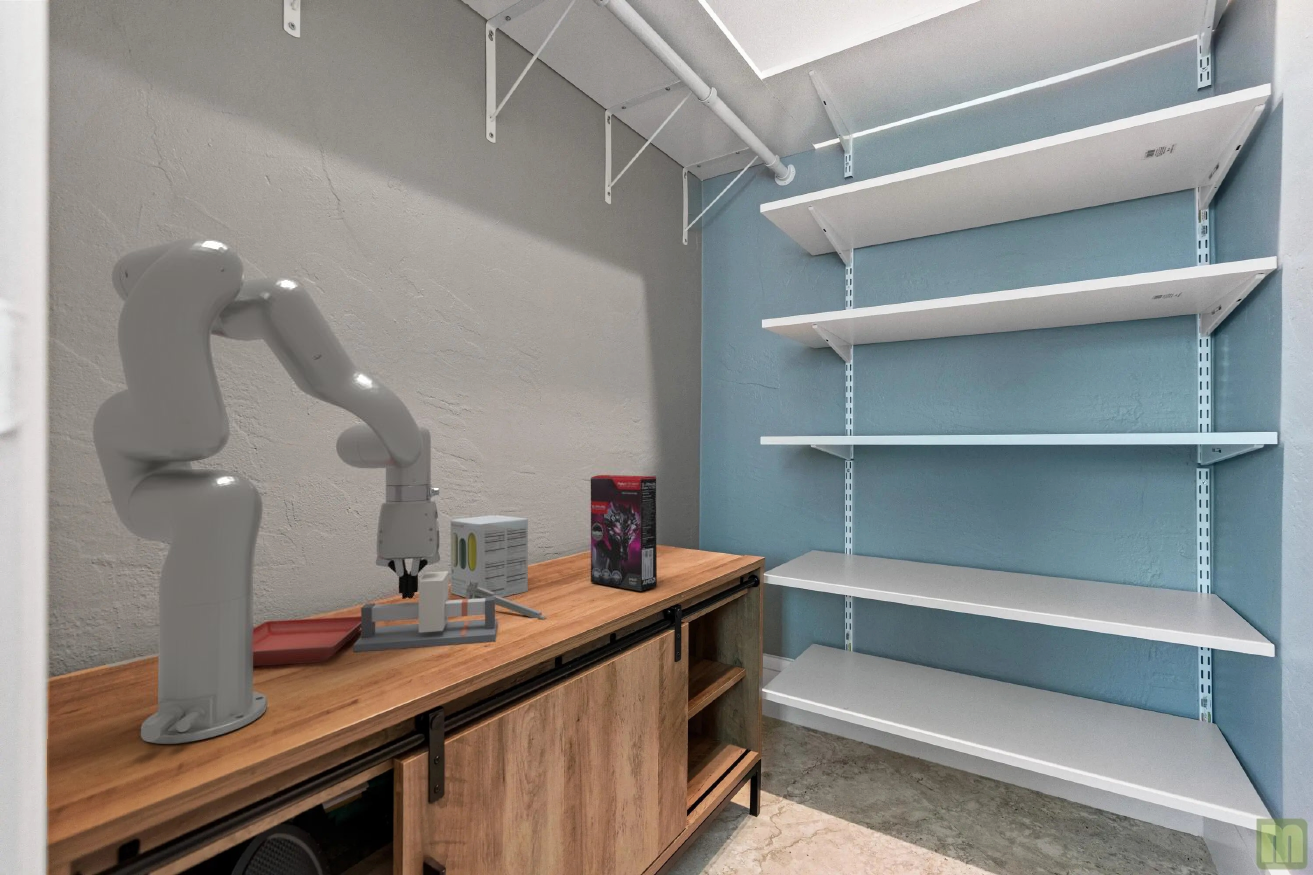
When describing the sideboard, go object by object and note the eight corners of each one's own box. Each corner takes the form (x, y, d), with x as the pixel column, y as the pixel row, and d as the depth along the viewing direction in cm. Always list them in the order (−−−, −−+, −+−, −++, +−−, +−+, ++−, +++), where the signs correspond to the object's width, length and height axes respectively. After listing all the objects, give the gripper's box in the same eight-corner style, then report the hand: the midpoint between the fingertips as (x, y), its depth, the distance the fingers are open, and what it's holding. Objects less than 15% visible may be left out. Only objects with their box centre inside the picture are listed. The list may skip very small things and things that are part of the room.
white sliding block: (442, 630, 103) (443, 580, 103) (418, 632, 102) (418, 581, 102) (448, 617, 111) (448, 571, 111) (426, 619, 110) (426, 572, 110)
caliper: (465, 609, 126) (465, 580, 126) (468, 608, 127) (468, 579, 127) (543, 620, 117) (543, 589, 117) (546, 619, 118) (546, 588, 118)
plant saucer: (265, 637, 108) (265, 619, 108) (369, 631, 111) (369, 614, 111) (206, 675, 90) (207, 653, 90) (333, 667, 93) (333, 646, 93)
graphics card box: (588, 583, 148) (587, 475, 149) (606, 578, 154) (606, 474, 154) (641, 593, 138) (640, 477, 138) (659, 587, 143) (658, 475, 144)
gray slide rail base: (495, 641, 104) (494, 604, 104) (353, 651, 99) (353, 613, 99) (497, 624, 114) (497, 591, 114) (368, 633, 109) (368, 598, 109)
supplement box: (448, 593, 139) (448, 519, 139) (496, 583, 149) (496, 514, 149) (481, 602, 130) (481, 523, 131) (529, 591, 140) (529, 518, 141)
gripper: (454, 492, 112) (454, 589, 111) (368, 494, 108) (368, 594, 108) (449, 495, 104) (449, 599, 104) (357, 497, 101) (357, 605, 100)
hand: (408, 596), depth 106 cm, fingers closed
